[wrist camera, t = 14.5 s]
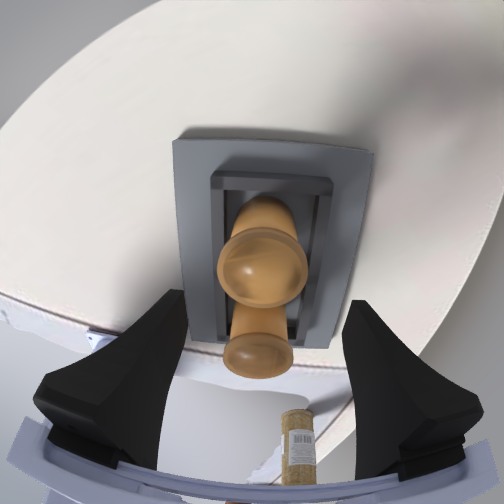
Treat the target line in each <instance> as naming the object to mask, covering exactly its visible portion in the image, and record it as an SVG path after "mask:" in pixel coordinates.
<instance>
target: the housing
mask: <svg viewBox="0 0 504 504" xmlns="http://www.w3.org/2000/svg"><path fill="white" fill-rule="evenodd" d="M172 147H173V170H174V188H175V202H176V215H177V227H178V238H179V248H180V258H181V267H182V275H183V284H184V291H185V299H186V306H187V313H188V320H189V327H190V333H191V339H192V341H200V342H210V343H220V344H227V343H228V342H229V341H230V334H231V326H232V318H233V310H234V302H235V300H234V299H233V298H232V297H230V296H229V295H228V294H227V293H226V292H225V290H224V289H223V288H222V286H221V284H220V282H219V279H218V275H217V264H218V260H219V256H220V253H221V251H222V249H223V247H224V245H225V244H226V243H227V241H228V240H229V239H230V238H231V234H232V231H233V227H234V223H235V220H236V216H237V213H238V211H239V209H240V208H241V207H242V205H243V204H244V203H246V202H247V201H249V200H250V199H252V198H255V197H259V196H270V197H274V198H277V199H279V200H281V201H282V202H284V203H285V204H286V205H287V206H288V207H289V208H290V210H291V212H292V214H293V217H294V222H295V228H296V234H297V240H298V243H299V244H300V245H301V247H302V248H303V250H304V252H305V255H306V259H307V264H308V277H307V281H306V284H305V286H304V288H303V289H302V291H301V292H300V293H299V294H298V295H297V296H296V297H295V298H294V299H292V300H291V301H289V302H287V303H285V304H286V319H287V335H288V343H289V344H290V345H291V347H292V348H315V349H328V348H329V345H330V342H331V338H332V335H333V332H334V329H335V326H336V322H337V319H338V316H339V312H340V309H341V305H342V302H343V298H344V295H345V291H346V287H347V283H348V280H349V276H350V272H351V268H352V264H353V260H354V255H355V251H356V247H357V242H358V238H359V233H360V229H361V224H362V219H363V214H364V209H365V203H366V198H367V193H368V187H369V181H370V175H371V168H372V162H373V155H374V153H372V152H370V151H368V150H362V149H355V148H348V147H340V146H332V145H324V144H314V143H304V142H292V141H279V140H261V139H233V138H190V139H176V140H173V141H172Z"/></svg>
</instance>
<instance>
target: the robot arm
mask: <svg viewBox="0 0 504 504" xmlns="http://www.w3.org/2000/svg"><path fill="white" fill-rule="evenodd" d="M187 330H188V318H187V311H186V304H185V297H184V290H175V289H170V290H169V291H167V292H166V293H165V294H164V295H163V296H162V297H161V298H160V299H159V300H158V301H157V302H156V303H155V304H154V305H153V306H152V307H151V308H150V309H149V310H148V311H147V312H146V313H145V314H144V315H143V316H142V317H141V318H140V319H139V320H138V321H136V322H135V323H134V324H133V325H132V326H131V327H129V328H128V329H127V330H126V331H125V332H124V333H122V334H121V335H120V336H114V335H109V334H104V333H99V332H94V331H90V330H87V331H86V336H87V338H88V340H89V342H90V344H91V346H92V348H93V352H92V354H91V355H89V356H87V357H86V358H83V359H81V360H79V361H77V362H75V363H73V364H71V365H69V366H66V367H64V368H61V369H59V370H56V371H53V372H51V373H48V374H46V375H45V376H44V378H43V380H42V382H41V384H40V386H39V387H38V389H37V391H36V393H35V395H34V396H33V401H34V404H35V405H36V407H37V408H38V409H39V410H40V411H41V412H42V413H43V414H44V415H45V419H44V421H43V423H42V424H41V423H39V422H37V421H35V420H33V419H31V418H29V417H27V416H26V417H25V418H24V420H23V423H22V425H21V427H20V429H19V431H18V433H17V435H16V438H15V440H14V442H13V445H12V447H11V449H10V451H9V454H8V456H7V461H8V462H9V463H11V464H12V465H13V466H15V467H16V468H18V469H19V470H21V471H22V472H24V473H25V474H27V475H28V476H30V477H32V478H33V479H35V480H36V481H38V482H40V483H42V484H43V485H45V486H47V490H46V492H45V495H44V498H43V501H42V504H189V503H187V502H185V501H183V500H182V498H181V496H178V495H175V494H180V495H186V496H192V497H198V498H204V499H211V500H219V501H228V502H239V503H257V504H302V503H318V502H329V501H338V500H343V501H339V502H337V503H336V504H463V503H465V502H467V501H469V500H471V499H473V498H475V497H477V496H479V495H481V494H482V493H484V492H486V491H488V490H490V489H491V488H493V487H495V486H497V485H498V484H499V483H500V482H499V477H498V474H497V469H496V466H495V462H494V458H493V455H492V452H491V449H490V445H489V442H488V440H487V439H485V440H483V441H480V442H478V443H475V444H473V445H471V446H468V447H467V448H465V449H463V446H462V444H463V443H465V437H464V434H465V433H466V432H467V431H469V430H470V429H471V428H472V427H473V426H474V425H475V424H476V423H477V422H478V421H479V420H480V419H481V418H482V416H483V413H484V411H483V408H482V406H481V403H480V401H479V398H478V396H477V395H476V394H474V393H472V392H470V391H468V390H466V389H464V388H462V387H460V386H458V385H456V384H455V383H453V382H451V381H450V380H448V379H447V378H445V377H443V376H442V375H441V374H439V373H438V372H436V371H435V370H434V369H432V368H431V367H430V366H428V365H427V364H426V363H424V362H423V361H422V360H421V359H420V358H419V357H418V356H416V355H415V354H414V353H413V352H412V351H411V350H410V349H409V348H408V347H407V346H406V345H405V344H404V343H403V342H402V341H401V340H400V339H399V338H398V337H397V336H396V335H395V334H394V333H393V332H392V330H391V329H390V328H389V327H388V326H387V325H386V324H385V322H384V321H383V320H382V319H381V318H380V317H379V315H378V314H377V313H376V312H375V311H374V310H373V308H372V307H371V306H370V305H369V304H368V303H367V302H366V301H365V300H352V302H351V306H350V309H349V312H348V315H347V318H346V322H345V325H344V328H343V331H342V343H343V352H344V357H345V361H346V366H347V370H348V374H349V379H350V383H351V388H352V392H353V398H354V404H355V417H356V438H357V440H356V443H357V445H356V471H355V481H348V482H340V483H330V484H318V485H295V486H269V485H246V484H233V483H223V482H215V481H207V480H200V479H194V478H188V477H183V476H177V475H172V474H168V473H163V472H159V471H157V459H158V449H159V441H160V433H161V427H162V421H163V415H164V410H165V405H166V400H167V395H168V391H169V388H170V384H171V382H172V379H173V376H174V373H175V370H176V367H177V364H178V361H179V359H180V356H181V353H182V350H183V347H184V344H185V339H186V334H187ZM161 490H162V491H161ZM165 491H166V492H165ZM168 492H171V493H175V494H171V493H168ZM346 499H347V500H346Z"/></svg>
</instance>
